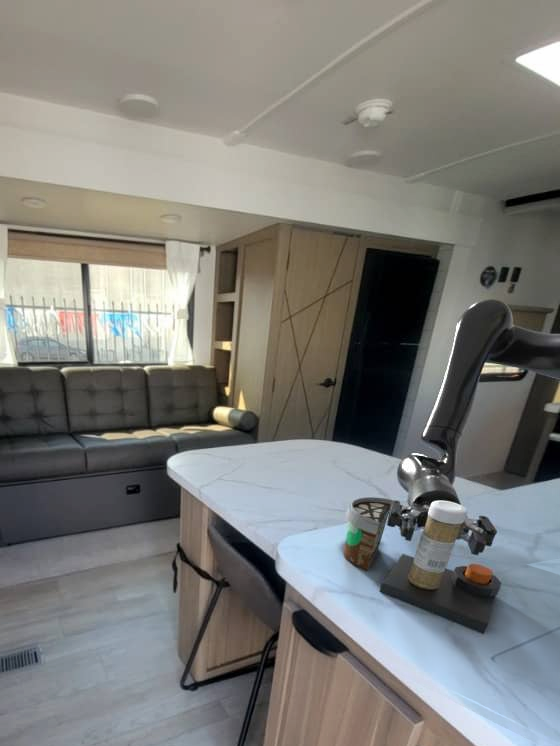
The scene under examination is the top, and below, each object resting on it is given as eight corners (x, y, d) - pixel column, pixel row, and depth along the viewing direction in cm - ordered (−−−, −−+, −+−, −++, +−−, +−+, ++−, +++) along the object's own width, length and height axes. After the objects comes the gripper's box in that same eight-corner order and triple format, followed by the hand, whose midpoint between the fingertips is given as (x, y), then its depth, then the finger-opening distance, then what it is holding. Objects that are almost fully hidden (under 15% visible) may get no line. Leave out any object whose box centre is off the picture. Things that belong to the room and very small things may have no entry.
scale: (494, 594, 65) (503, 576, 64) (484, 634, 56) (493, 615, 55) (400, 561, 73) (406, 544, 72) (379, 592, 65) (384, 574, 63)
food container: (346, 536, 81) (357, 490, 77) (379, 546, 78) (393, 499, 74) (328, 563, 72) (339, 512, 68) (364, 575, 69) (379, 523, 64)
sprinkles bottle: (438, 579, 65) (467, 503, 59) (439, 594, 61) (470, 515, 56) (406, 571, 67) (431, 496, 61) (405, 585, 63) (431, 507, 58)
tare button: (489, 578, 64) (494, 569, 63) (487, 587, 61) (491, 577, 61) (466, 570, 65) (469, 561, 65) (462, 578, 63) (466, 569, 62)
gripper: (393, 475, 73) (395, 508, 60) (487, 489, 68) (512, 530, 54) (383, 512, 76) (382, 552, 63) (472, 529, 71) (492, 576, 58)
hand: (442, 542), depth 59 cm, fingers open, 8 cm apart
